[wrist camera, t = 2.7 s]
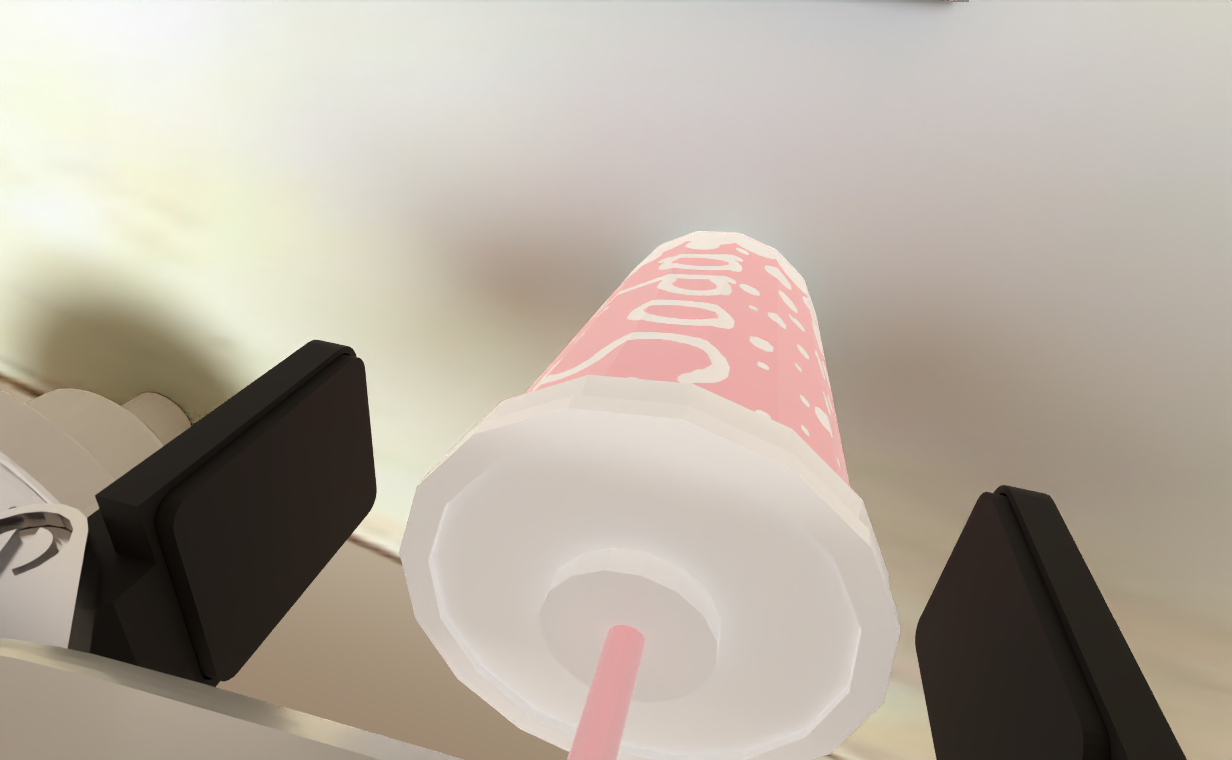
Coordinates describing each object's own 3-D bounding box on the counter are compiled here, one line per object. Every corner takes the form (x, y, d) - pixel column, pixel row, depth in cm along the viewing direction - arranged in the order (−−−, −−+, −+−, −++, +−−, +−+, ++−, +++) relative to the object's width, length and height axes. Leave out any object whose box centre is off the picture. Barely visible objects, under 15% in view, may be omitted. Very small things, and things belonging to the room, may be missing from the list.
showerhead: (-371, 324, 14) (80, 535, 13) (-2, 223, 20) (309, 366, 19) (-224, 610, 19) (106, 768, 18) (33, 458, 25) (282, 574, 24)
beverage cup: (894, 231, 14) (1396, 1531, 2) (804, 464, 17) (804, 1519, 5) (608, 166, 15) (-208, 851, 3) (572, 401, 18) (110, 1194, 6)
